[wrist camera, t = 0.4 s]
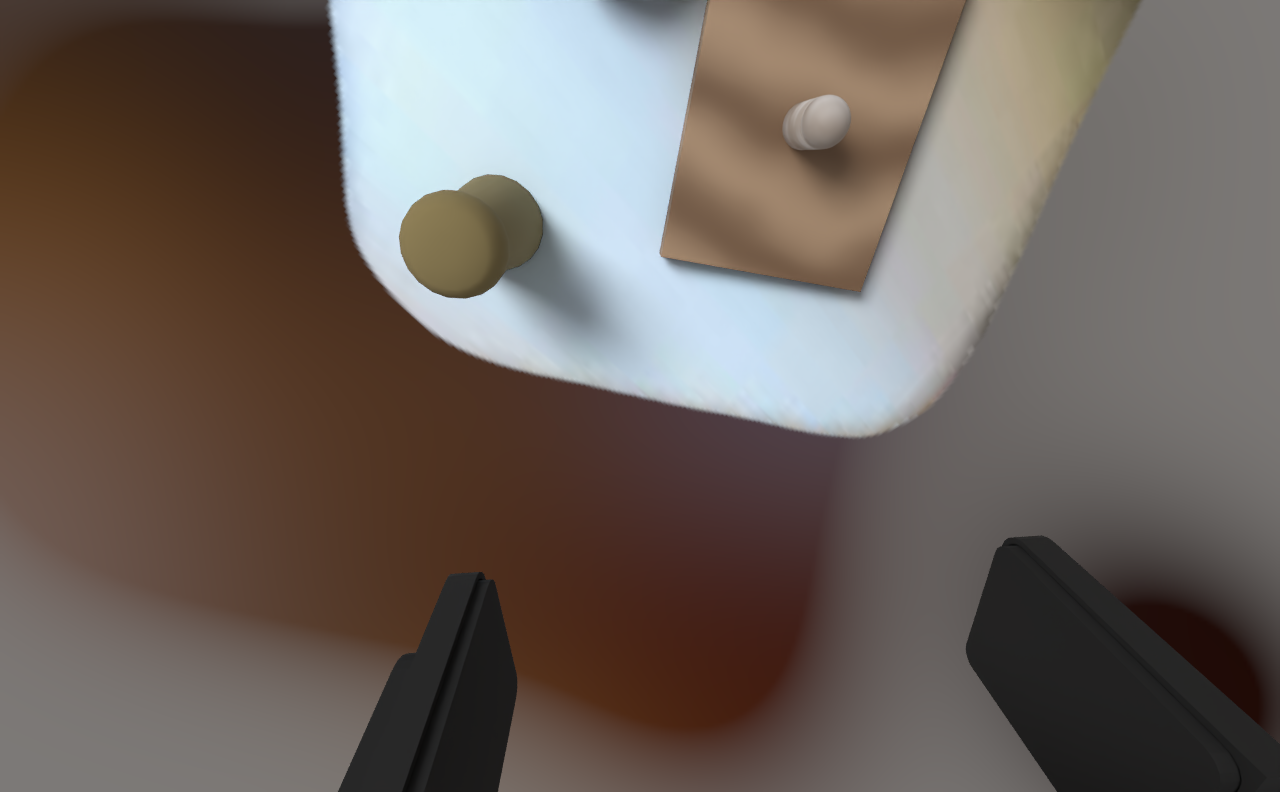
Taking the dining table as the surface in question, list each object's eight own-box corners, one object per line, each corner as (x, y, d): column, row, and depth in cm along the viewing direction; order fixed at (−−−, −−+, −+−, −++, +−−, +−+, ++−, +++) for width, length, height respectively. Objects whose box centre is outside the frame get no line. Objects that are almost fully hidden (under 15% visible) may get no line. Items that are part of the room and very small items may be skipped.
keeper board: (723, -84, 28) (749, -146, 22) (961, -24, 29) (1044, -69, 23) (659, 252, 35) (666, 271, 29) (851, 286, 36) (894, 310, 31)
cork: (562, 228, 34) (537, 257, 24) (500, 287, 36) (452, 338, 26) (494, 152, 32) (436, 150, 22) (431, 219, 34) (351, 245, 24)
